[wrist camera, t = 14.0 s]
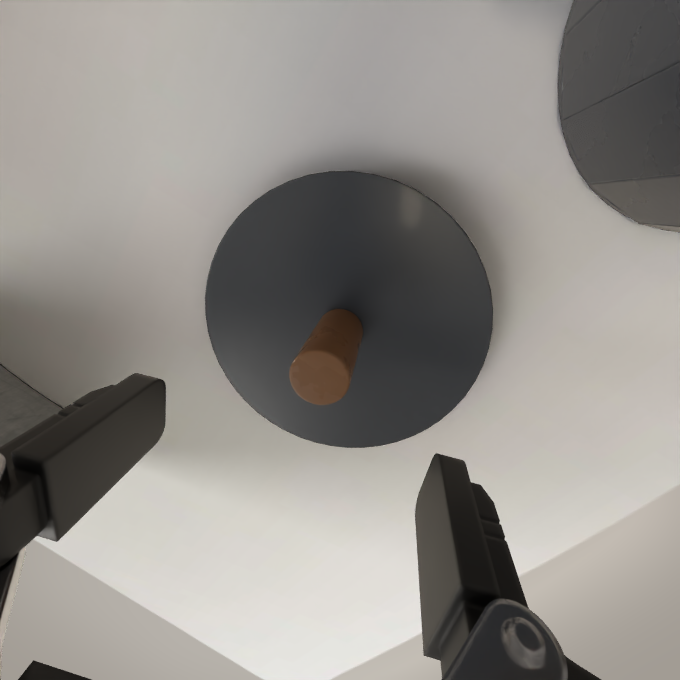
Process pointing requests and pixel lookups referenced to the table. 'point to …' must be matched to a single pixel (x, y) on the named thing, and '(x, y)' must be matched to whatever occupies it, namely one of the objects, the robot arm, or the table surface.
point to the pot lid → (349, 309)
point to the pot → (625, 104)
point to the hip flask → (20, 407)
